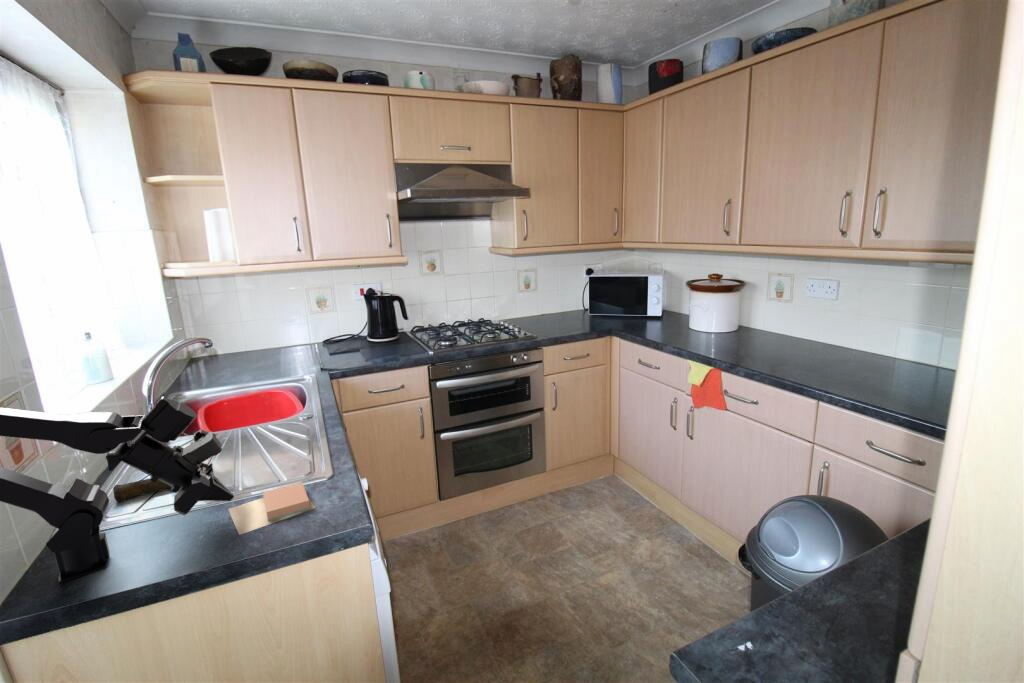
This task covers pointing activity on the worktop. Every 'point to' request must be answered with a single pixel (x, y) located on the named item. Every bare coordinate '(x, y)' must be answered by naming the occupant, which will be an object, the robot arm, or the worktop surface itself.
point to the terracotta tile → (286, 501)
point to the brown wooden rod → (140, 488)
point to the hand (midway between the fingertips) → (232, 498)
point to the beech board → (255, 515)
